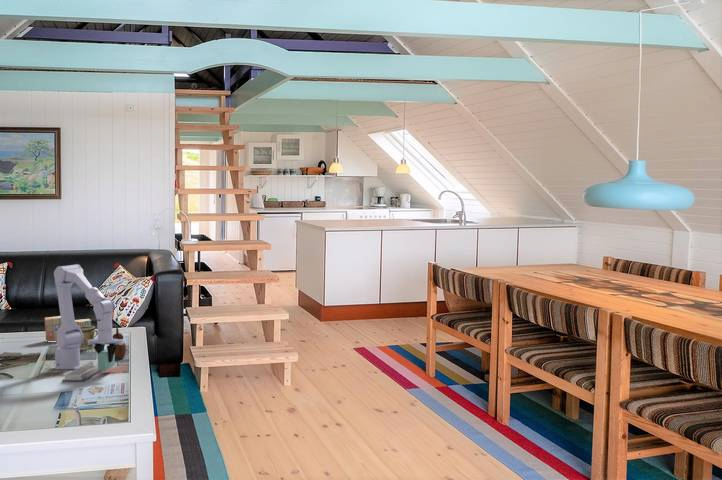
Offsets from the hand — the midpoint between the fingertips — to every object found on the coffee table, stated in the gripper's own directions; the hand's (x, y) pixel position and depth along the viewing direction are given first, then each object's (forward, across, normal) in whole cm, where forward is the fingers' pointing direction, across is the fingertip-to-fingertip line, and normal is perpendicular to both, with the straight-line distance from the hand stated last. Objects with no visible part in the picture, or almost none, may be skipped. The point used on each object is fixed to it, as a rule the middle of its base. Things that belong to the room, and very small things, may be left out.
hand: (106, 361), depth 299 cm
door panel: (+2, 0, 0) cm, 2 cm away
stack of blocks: (+6, -50, +65) cm, 82 cm away
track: (+5, -8, -1) cm, 10 cm away
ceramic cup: (+5, -30, +45) cm, 55 cm away
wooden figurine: (+5, -6, +26) cm, 27 cm away
